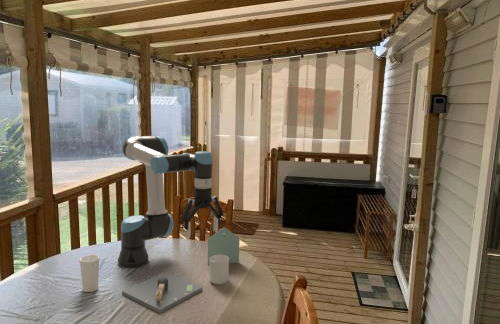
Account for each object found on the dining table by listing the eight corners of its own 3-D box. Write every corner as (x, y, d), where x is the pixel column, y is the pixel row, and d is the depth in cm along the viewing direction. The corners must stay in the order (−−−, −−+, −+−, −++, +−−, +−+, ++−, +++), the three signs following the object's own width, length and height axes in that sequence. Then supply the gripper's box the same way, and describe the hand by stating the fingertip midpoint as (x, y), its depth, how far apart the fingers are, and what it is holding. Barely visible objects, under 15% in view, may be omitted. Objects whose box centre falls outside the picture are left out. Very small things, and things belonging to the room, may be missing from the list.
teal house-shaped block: (236, 257, 203) (237, 222, 200) (238, 263, 195) (240, 226, 192) (206, 258, 200) (207, 222, 197) (207, 264, 192) (208, 227, 190)
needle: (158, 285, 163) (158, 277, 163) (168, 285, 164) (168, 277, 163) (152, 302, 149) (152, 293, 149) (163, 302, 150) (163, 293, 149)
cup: (104, 287, 164) (103, 256, 162) (91, 295, 157) (90, 263, 155) (89, 283, 167) (88, 253, 165) (76, 291, 160) (74, 260, 158)
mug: (226, 286, 169) (227, 262, 168) (207, 284, 170) (208, 261, 168) (230, 274, 181) (231, 252, 180) (212, 273, 182) (213, 251, 180)
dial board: (122, 294, 159) (121, 290, 159) (165, 275, 178) (165, 271, 178) (159, 313, 145) (159, 309, 145) (202, 290, 164) (202, 286, 164)
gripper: (180, 191, 152) (179, 241, 155) (231, 186, 166) (230, 231, 169) (172, 188, 158) (172, 235, 161) (223, 183, 172) (222, 227, 175)
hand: (202, 233), depth 165 cm, fingers open, 13 cm apart
